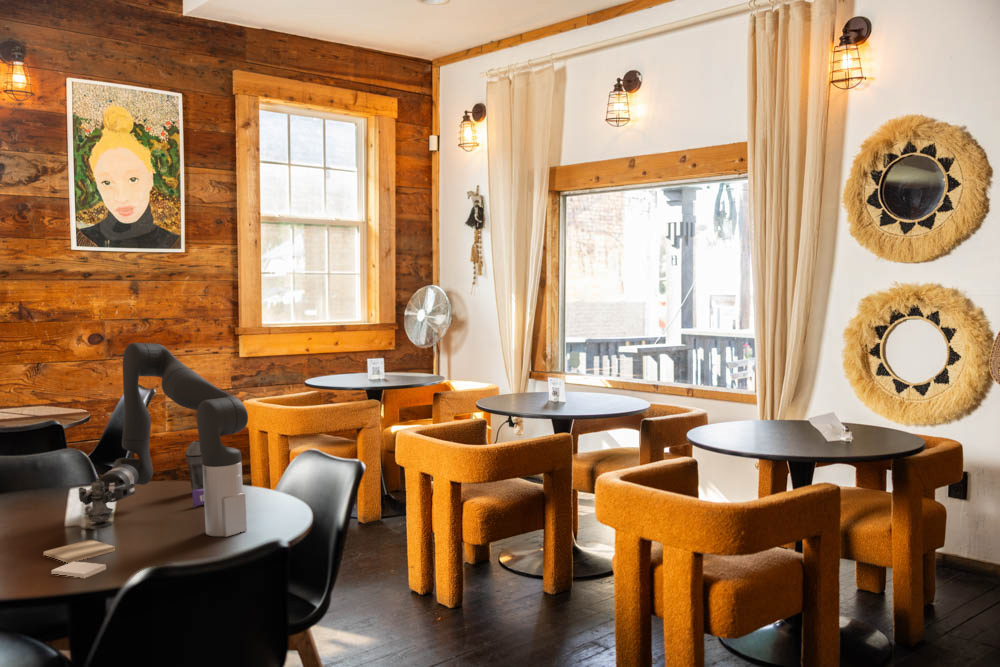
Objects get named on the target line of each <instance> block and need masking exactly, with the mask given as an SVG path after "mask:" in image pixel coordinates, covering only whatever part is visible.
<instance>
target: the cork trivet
mask: <svg viewBox="0 0 1000 667" xmlns="http://www.w3.org/2000/svg"><path fill="white" fill-rule="evenodd" d="M115 551H116V549H115V546H114V545H110V544H107V543H104V542H101V541H97V540H93V539H87V540H82V541H79V542H76V543H75V542H74V543H70V544H67V545H63V546H60V547H55V548H52V549H47V550H44V551H43V556H44V555H46V556H49V557H52V558H55V559H58V560H61V561H63V562H62V563H64V562H66V563H65V564H67V563H71V562H73V561H77V562H80V561H83V559H84V560H88V559H90V558H95V557H98V556H102V555H105V554H108V553H113V552H115ZM49 557H48V558H49ZM52 558H51V559H52ZM87 558H88V559H87ZM55 559H54V560H55ZM58 560H57V561H58ZM79 560H80V561H79ZM61 561H60V562H61Z"/></svg>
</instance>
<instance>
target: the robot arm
mask: <svg viewBox="0 0 1000 667" xmlns="http://www.w3.org/2000/svg"><path fill="white" fill-rule="evenodd" d="M122 356H123V357H122V384H123V385H122V386H123V387H122V389H123V400H124V402H123V404H124V408H123V409H124V413H123V414H124V418H123V419H124V420H123V428H122V439H121V447H122V449H124V450H126V451H128V452H131V453H134V454H136V456H137V458H131V457H119V458H117V459H115V461H114V462H113V464H112V469H111V470H108V471H106V473H104V474H103V475H102V476H100V477H98V480H100V481H102V482H103V483H104V489H105V493H104V494H103V504H105V503H106V504H108V503H115V502H118V501H120V500H123V499H126V498H128V497H131V496H133V495H135V494H136V492H135V486H136V485H141V486H142V485H143V486H144V485H147V484H148V483H150V481H151V480H152V477H153V472H154V468H153V463H152V459H151V453H150V436H151V428H152V427H151V426H152V418H151V415H150V412H149V410H148V408H147V406H146V404H145V402H144V401H143V398H142V394H141V393H140V390H139V389H140V388H139V380H140V377H155V378H161V389H162V391H163V393H164V394H165V395H166V397H168V398H169V399H170V400H171V401H173V402H174V403H175V404H177V405H178V406H181V407H183V408H185V409H190V410H192V411H196V426H197V432H198V441H199V446H200V453H201V456H202V464H203V465H202V466H203V487H204V504H203V505H204V506H203V507H204V521H205V522H204V523H205V534H206V535H207V536H211V537H230V536H234V535H237V534H240V532H241V533H243V532H244V533H245V532H246V531H248V526H247V525H248V523H247V522H248V521H247V505H246V503H247V502H246V494H245V492H244V491H243V490H244V489H243V488H244V487H243V486H244V485H243V468H242V467H243V466H242V465H243V464H242V463H243V462H242V453H241V450H240V449H238V448H235V447H229V446H226V445H224V444H223V443H222V440H221V437H222V436H227V435H228V436H229V435H234V434H237V433H240V432H242V431H243V430H244V429H245V428H246V427H247V425H248V422H249V414H248V411H247V408H246V406H245V404H244V403H243V401H241V399H239V398H238V397H236V396H234V395H232V394H230V393H228V392H227V391H225V390H222V389H220V388H218V387H217V386H215V384H212V383H211V382H209V381H208V380H206V379H205V378H204V377H202V376H201V375H200V374H198V373H197V372H196V371H194V370H193V369H191V368H190V367H188V366H187V365H185V364H184V363H183V362H182V361H180V360H179V359H178V358H177V357H176V356H174V355H173V354H172V352H171V351H170V350H169V349H168V348H167V347H166V346H165V345H162V344H159V343H151V342H148V343H147V342H130V343H128V344H127V346H125V349H124V352H123V355H122ZM91 496H92V486H91V487H90V489H87V487H86V488H84V487H78V499H79V502H81V503H82V504H84V505H85V506H87V505H90V504H91V503H92V498H91Z"/></svg>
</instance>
